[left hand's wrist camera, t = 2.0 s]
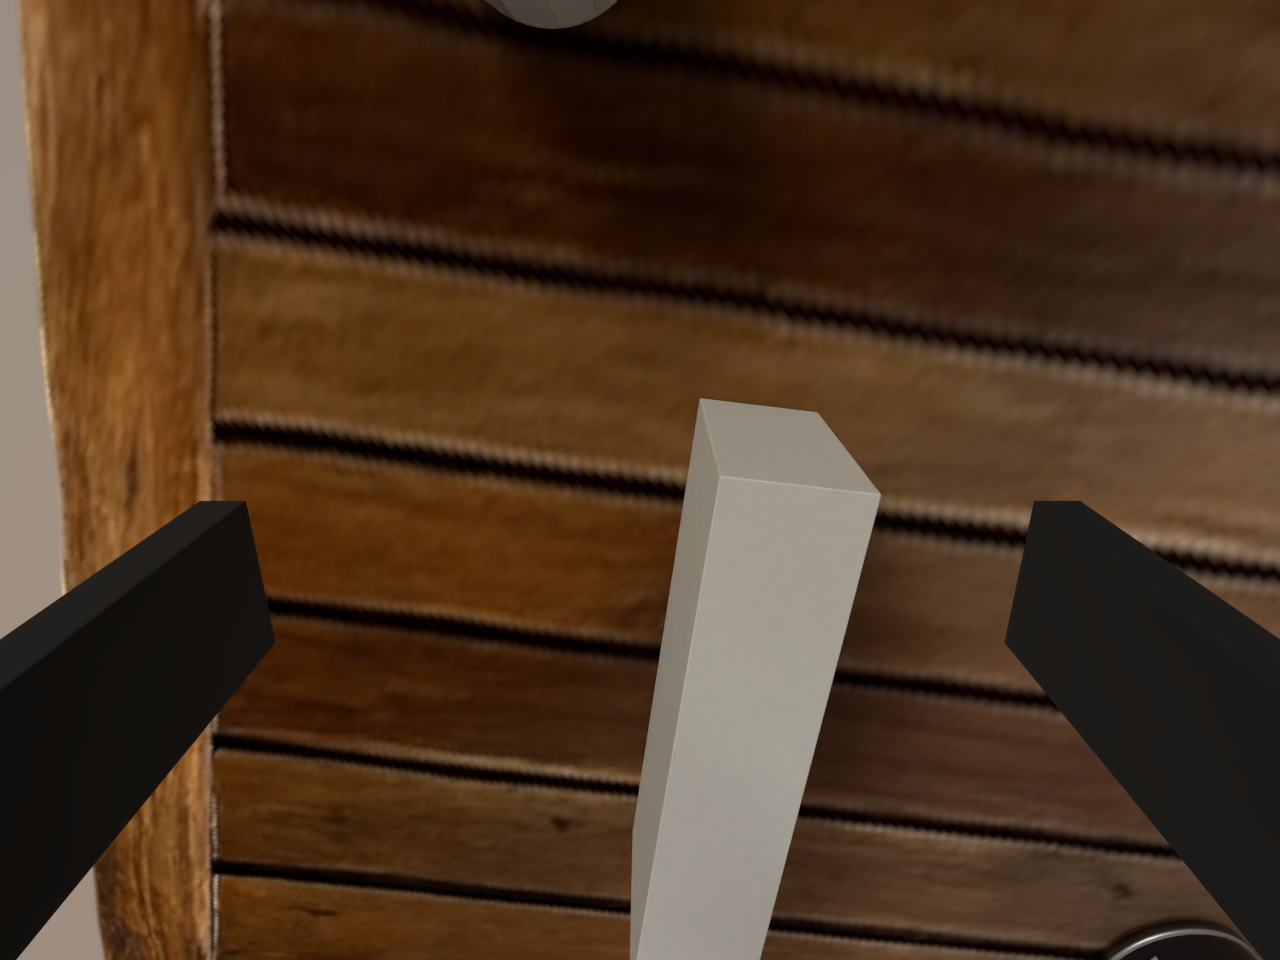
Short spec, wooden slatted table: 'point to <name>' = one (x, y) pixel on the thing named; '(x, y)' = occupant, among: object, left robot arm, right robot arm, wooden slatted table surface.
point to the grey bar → (743, 674)
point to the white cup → (552, 11)
